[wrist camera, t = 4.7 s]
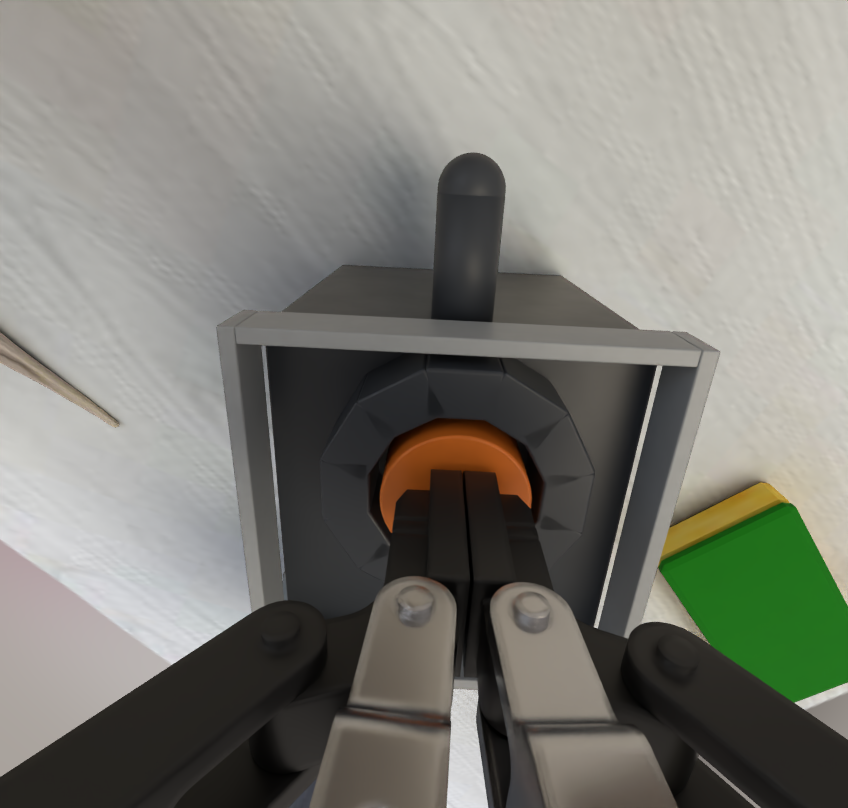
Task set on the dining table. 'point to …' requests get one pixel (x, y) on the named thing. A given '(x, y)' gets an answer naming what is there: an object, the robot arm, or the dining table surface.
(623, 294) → the dining table surface
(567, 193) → the dining table surface
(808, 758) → the robot arm
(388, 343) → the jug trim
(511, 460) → the lid button
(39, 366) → the tweezers
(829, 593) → the dish sponge
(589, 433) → the grey button box
